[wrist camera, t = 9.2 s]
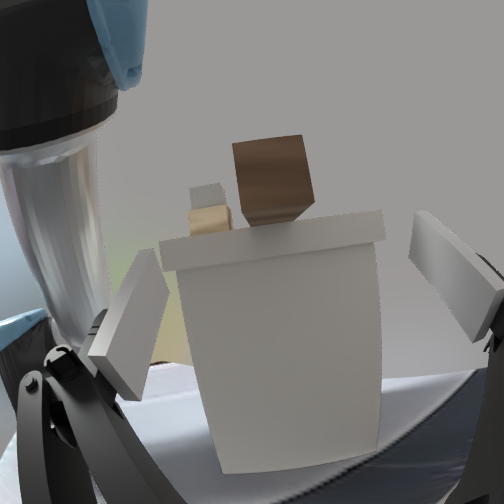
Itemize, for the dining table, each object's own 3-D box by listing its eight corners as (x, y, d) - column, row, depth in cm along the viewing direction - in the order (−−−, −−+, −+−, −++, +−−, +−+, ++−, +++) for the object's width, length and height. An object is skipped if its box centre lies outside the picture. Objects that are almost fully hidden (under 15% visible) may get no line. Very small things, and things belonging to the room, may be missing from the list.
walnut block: (314, 202, 15) (301, 134, 15) (241, 212, 15) (232, 143, 15) (281, 231, 43) (278, 205, 43) (255, 235, 43) (251, 209, 43)
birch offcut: (229, 235, 35) (225, 204, 35) (191, 241, 36) (187, 210, 36) (234, 237, 41) (231, 210, 41) (201, 242, 42) (197, 215, 42)
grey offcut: (222, 205, 36) (219, 182, 36) (191, 210, 36) (189, 188, 36) (227, 210, 41) (224, 190, 41) (200, 214, 41) (197, 195, 41)
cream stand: (385, 452, 26) (381, 209, 26) (214, 478, 27) (158, 241, 27) (351, 393, 44) (337, 224, 44) (229, 411, 45) (199, 243, 45)
